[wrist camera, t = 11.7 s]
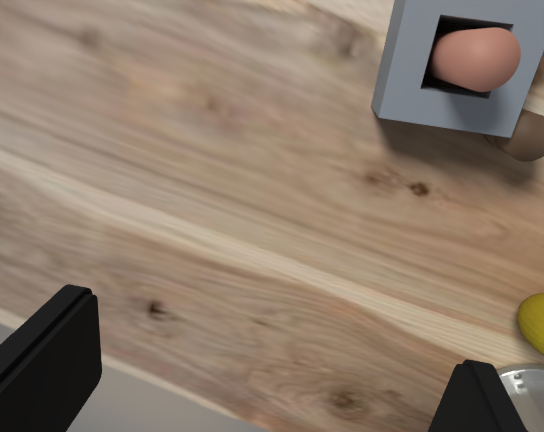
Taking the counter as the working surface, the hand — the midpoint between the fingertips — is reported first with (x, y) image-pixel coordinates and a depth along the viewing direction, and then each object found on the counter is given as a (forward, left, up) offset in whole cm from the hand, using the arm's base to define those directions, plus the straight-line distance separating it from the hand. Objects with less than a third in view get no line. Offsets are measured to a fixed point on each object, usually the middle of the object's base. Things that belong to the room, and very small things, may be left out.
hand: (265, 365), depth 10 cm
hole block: (-10, -8, -30) cm, 33 cm away
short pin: (-17, -3, -30) cm, 35 cm away
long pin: (-10, -8, -30) cm, 33 cm away
